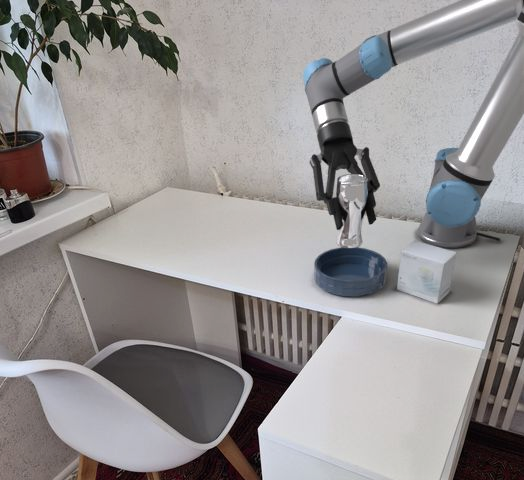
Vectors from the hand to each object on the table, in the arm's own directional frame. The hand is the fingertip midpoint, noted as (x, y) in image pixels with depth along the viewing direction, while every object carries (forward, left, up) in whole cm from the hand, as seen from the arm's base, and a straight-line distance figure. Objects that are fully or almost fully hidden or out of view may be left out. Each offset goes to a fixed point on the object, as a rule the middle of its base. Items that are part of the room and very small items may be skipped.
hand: (356, 224), depth 112 cm
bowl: (+1, -3, -16) cm, 16 cm away
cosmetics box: (-16, +1, -16) cm, 23 cm away
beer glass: (+1, -3, -6) cm, 7 cm away
